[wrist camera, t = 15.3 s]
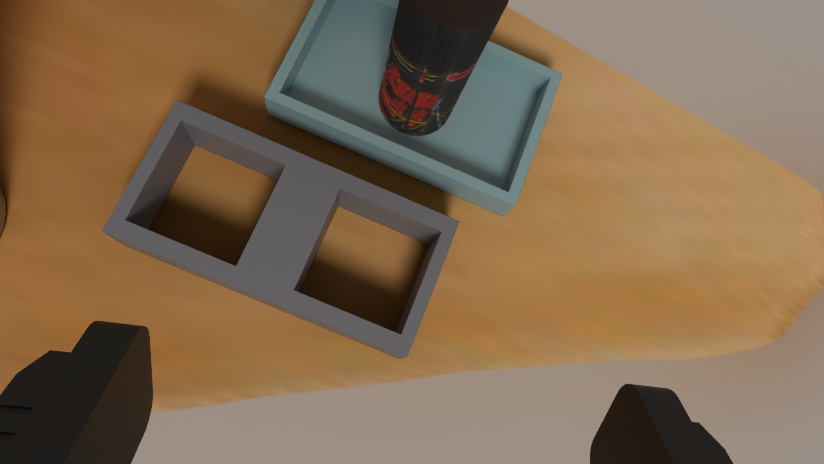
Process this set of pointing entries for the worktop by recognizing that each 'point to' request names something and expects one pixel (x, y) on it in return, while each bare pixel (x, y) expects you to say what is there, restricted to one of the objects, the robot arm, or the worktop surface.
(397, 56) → the deodorant
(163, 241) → the holder
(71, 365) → the robot arm
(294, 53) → the tray
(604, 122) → the worktop surface
